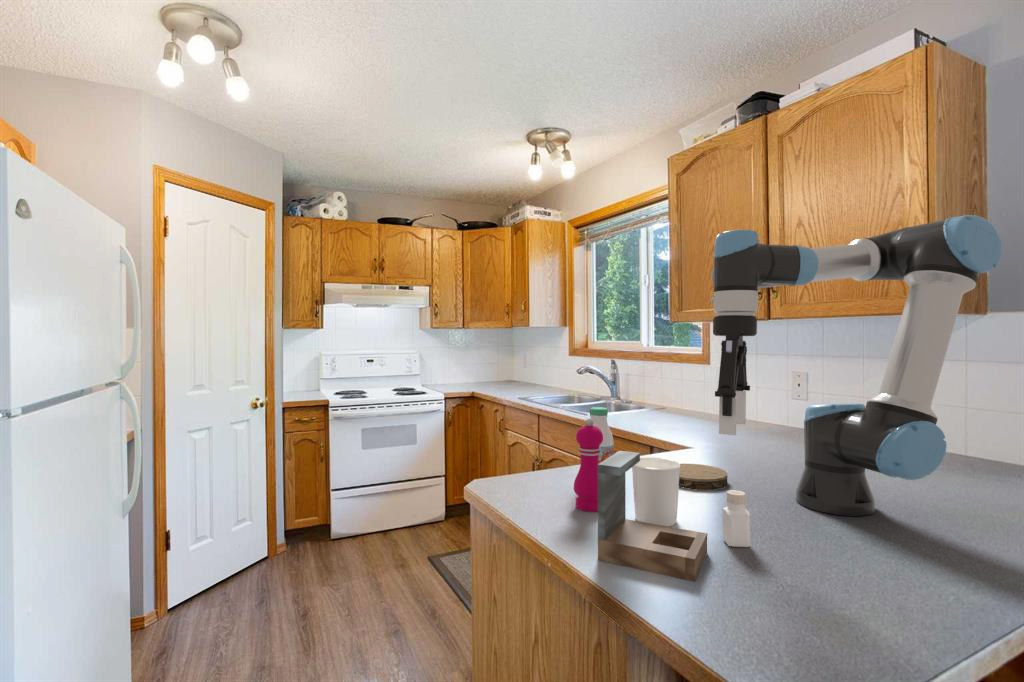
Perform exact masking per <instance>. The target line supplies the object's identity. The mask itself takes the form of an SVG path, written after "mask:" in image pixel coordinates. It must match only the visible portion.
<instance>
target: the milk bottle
mask: <svg viewBox="0 0 1024 682" xmlns="http://www.w3.org/2000/svg"><path fill="white" fill-rule="evenodd" d="M608 411H609V410H608V408H607V407H602V406H594V407H590V408H589V417H590V419H592V420H593V422H594V423H593V426H596V427H598V428H599V429H600V430H601V431H602V434H603V441H602V443H601V444H600V446H599V447H600V448H601V450H600V452H601V454H600V455H599V459H598V461H599V463H601V462H602V461H604V460H605V459H607V458H609V457H610V456H612V455H613V454H615V443H614V438H613V437H614V436H613V433H612V431H611V428H610V427H609V424H608V420H607V419H608V414H609V412H608Z"/></svg>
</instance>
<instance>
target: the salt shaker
mask: <svg viewBox="0 0 1024 682" xmlns="http://www.w3.org/2000/svg"><path fill="white" fill-rule="evenodd" d="M726 503H727V504H726V507H723V508H722V539H723V541H724V542H725V543H726V544H727V546H728V547H731V546H732V547H733V548H735V547H737V548H749V547H750V545H751V514H750V512H749V511H748V510H747V509H746V493H745V492H744V491H742V490H736V489H735V490H734V489H730V490H726ZM732 547H731V548H732Z"/></svg>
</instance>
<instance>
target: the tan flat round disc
mask: <svg viewBox="0 0 1024 682" xmlns="http://www.w3.org/2000/svg"><path fill="white" fill-rule="evenodd" d="M679 464H680V475H679V486H680V487H679V488H681V487H684V488H683V489H686V488H690V489H689V490H694V489H697V490H696V491H715V490H714V489H717V490H720V489H721V488H722V489H724V488H726V487H727V486H728V472H727V471H726V470H724V469H722V468H720V467H716V466H713V465H707V464H700V463H699V464H697V463H679Z"/></svg>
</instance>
